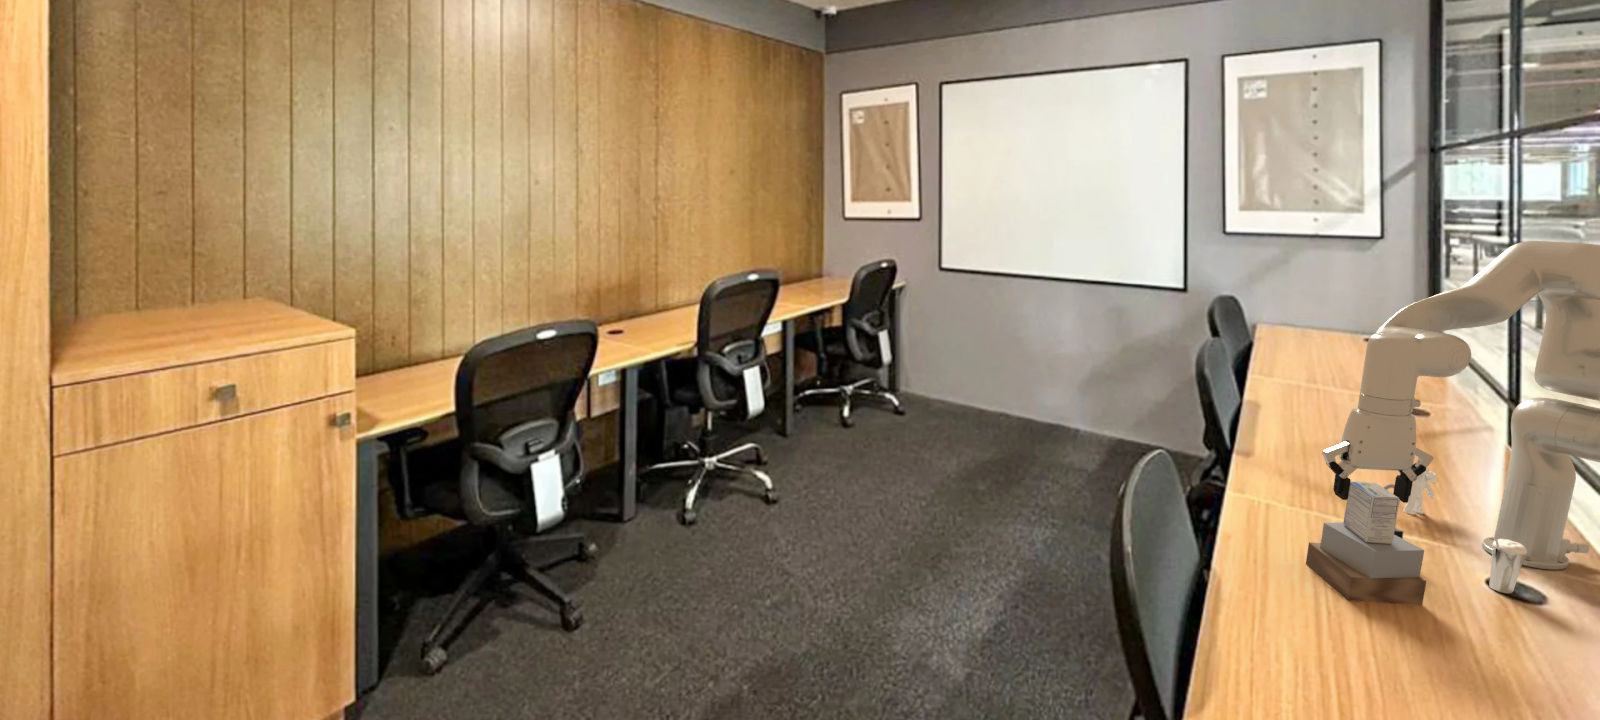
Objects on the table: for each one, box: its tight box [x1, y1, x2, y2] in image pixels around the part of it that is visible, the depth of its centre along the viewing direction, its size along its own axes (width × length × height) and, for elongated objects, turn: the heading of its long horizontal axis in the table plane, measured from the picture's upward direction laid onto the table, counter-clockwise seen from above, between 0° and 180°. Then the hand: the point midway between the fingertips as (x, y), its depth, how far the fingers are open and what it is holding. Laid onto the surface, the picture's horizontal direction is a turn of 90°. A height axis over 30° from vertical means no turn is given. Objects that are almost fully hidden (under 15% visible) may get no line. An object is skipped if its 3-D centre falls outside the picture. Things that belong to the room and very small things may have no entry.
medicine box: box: [1343, 481, 1400, 544], centre depth 139 cm, size 8×4×9 cm, turn 170°
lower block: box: [1305, 542, 1427, 606], centre depth 142 cm, size 12×14×5 cm
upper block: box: [1320, 521, 1425, 578], centre depth 140 cm, size 9×12×5 cm
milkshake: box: [1488, 538, 1527, 594], centre depth 140 cm, size 5×5×10 cm
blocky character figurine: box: [1402, 467, 1439, 516], centre depth 174 cm, size 9×4×12 cm, turn 102°
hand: (1370, 498), depth 139 cm, fingers open, 9 cm apart
